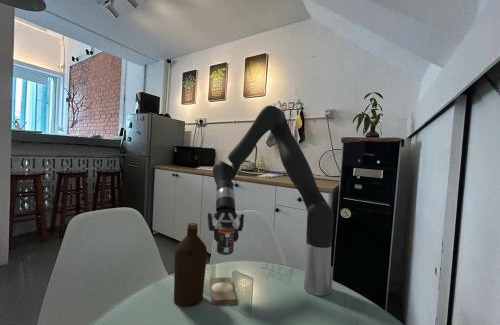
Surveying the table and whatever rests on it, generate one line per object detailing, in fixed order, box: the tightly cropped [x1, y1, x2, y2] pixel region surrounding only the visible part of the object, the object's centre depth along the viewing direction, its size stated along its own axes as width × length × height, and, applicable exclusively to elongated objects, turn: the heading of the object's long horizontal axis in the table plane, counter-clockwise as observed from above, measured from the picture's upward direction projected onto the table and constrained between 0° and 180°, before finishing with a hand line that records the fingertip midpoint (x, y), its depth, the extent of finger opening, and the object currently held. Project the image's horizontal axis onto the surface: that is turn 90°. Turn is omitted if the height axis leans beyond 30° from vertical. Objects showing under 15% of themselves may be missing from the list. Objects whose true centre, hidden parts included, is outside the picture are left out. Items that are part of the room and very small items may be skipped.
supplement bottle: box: [216, 220, 235, 256], centre depth 87 cm, size 6×6×11 cm
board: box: [209, 276, 238, 306], centre depth 87 cm, size 8×16×2 cm, turn 11°
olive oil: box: [173, 222, 208, 308], centre depth 81 cm, size 11×11×25 cm
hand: (226, 240), depth 85 cm, fingers closed on supplement bottle, 6 cm apart
